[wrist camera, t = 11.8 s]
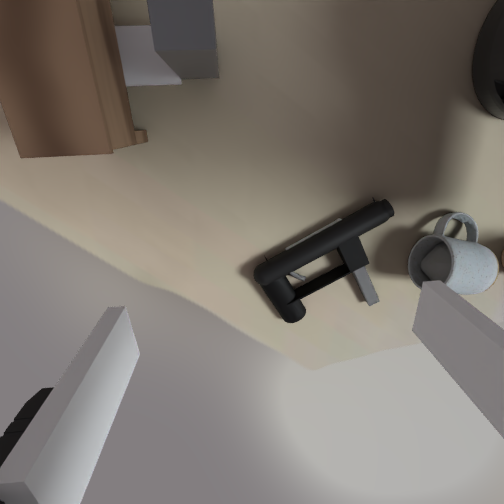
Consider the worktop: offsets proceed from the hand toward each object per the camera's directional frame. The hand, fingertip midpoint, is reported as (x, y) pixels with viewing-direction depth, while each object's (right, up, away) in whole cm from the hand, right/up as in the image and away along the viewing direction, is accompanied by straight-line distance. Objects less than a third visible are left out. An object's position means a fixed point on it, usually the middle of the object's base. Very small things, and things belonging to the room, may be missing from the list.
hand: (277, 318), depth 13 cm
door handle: (+10, +1, +30) cm, 31 cm away
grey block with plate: (-13, +23, +17) cm, 31 cm away
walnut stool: (-16, +23, +16) cm, 32 cm away
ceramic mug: (+26, +4, +29) cm, 39 cm away
